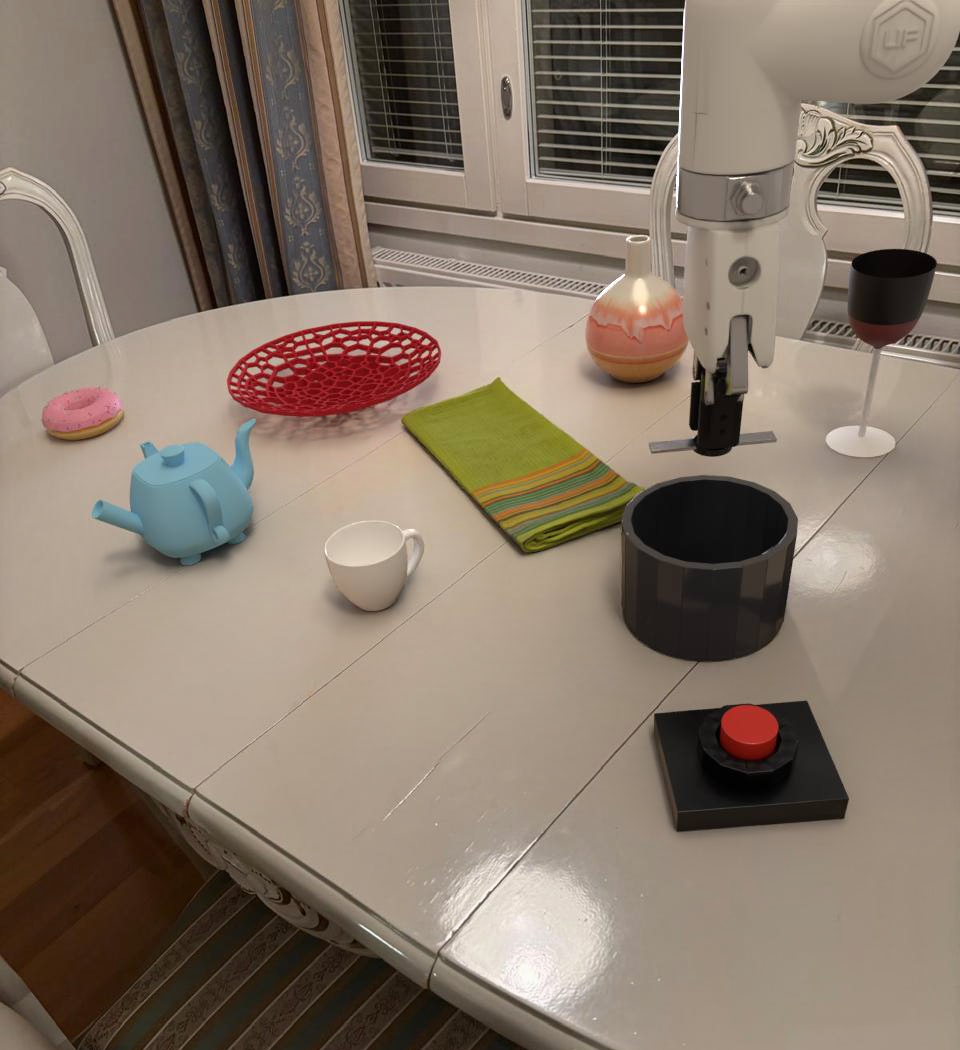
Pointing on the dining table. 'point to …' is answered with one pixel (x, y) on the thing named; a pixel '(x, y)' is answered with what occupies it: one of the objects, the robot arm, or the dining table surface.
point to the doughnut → (82, 413)
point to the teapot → (187, 498)
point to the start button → (748, 732)
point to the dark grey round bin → (706, 566)
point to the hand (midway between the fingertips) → (713, 435)
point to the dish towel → (521, 466)
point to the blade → (692, 443)
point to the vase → (637, 321)
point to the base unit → (747, 771)
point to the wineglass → (882, 327)
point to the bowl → (334, 371)
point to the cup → (372, 562)
